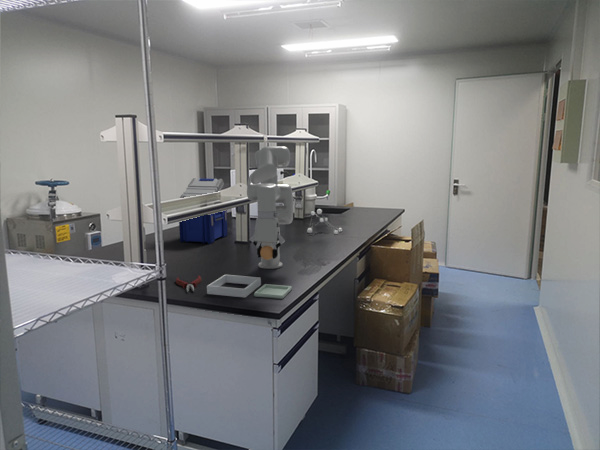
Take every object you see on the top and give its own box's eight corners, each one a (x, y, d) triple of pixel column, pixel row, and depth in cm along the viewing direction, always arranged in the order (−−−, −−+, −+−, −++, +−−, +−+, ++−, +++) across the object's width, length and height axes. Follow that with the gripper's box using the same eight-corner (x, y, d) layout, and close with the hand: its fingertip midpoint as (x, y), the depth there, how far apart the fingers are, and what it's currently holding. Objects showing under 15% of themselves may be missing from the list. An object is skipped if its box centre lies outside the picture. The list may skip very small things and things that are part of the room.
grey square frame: (225, 281, 209) (225, 274, 208) (260, 284, 204) (260, 277, 203) (207, 293, 192) (206, 285, 192) (245, 297, 187) (245, 289, 187)
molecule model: (307, 233, 328) (309, 209, 330) (342, 235, 326) (343, 210, 328) (306, 232, 314) (307, 206, 316) (342, 234, 312) (343, 208, 314)
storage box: (209, 244, 285) (207, 181, 278) (177, 243, 291) (173, 180, 284) (228, 235, 313) (227, 178, 306) (198, 234, 319) (196, 177, 311)
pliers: (177, 295, 192) (176, 289, 191) (175, 282, 211) (175, 276, 210) (204, 293, 195) (204, 287, 194) (200, 279, 214) (200, 274, 213)
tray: (264, 287, 201) (264, 283, 200) (291, 289, 197) (291, 286, 197) (254, 296, 189) (254, 292, 189) (282, 299, 185) (282, 295, 185)
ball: (263, 257, 195) (263, 243, 194) (276, 258, 193) (276, 244, 192) (258, 260, 189) (257, 246, 188) (271, 261, 187) (271, 247, 186)
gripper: (289, 214, 189) (289, 256, 192) (251, 213, 194) (252, 253, 197) (283, 217, 181) (283, 261, 185) (244, 215, 187) (245, 258, 190)
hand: (267, 256), depth 191 cm, fingers closed on ball, 5 cm apart
